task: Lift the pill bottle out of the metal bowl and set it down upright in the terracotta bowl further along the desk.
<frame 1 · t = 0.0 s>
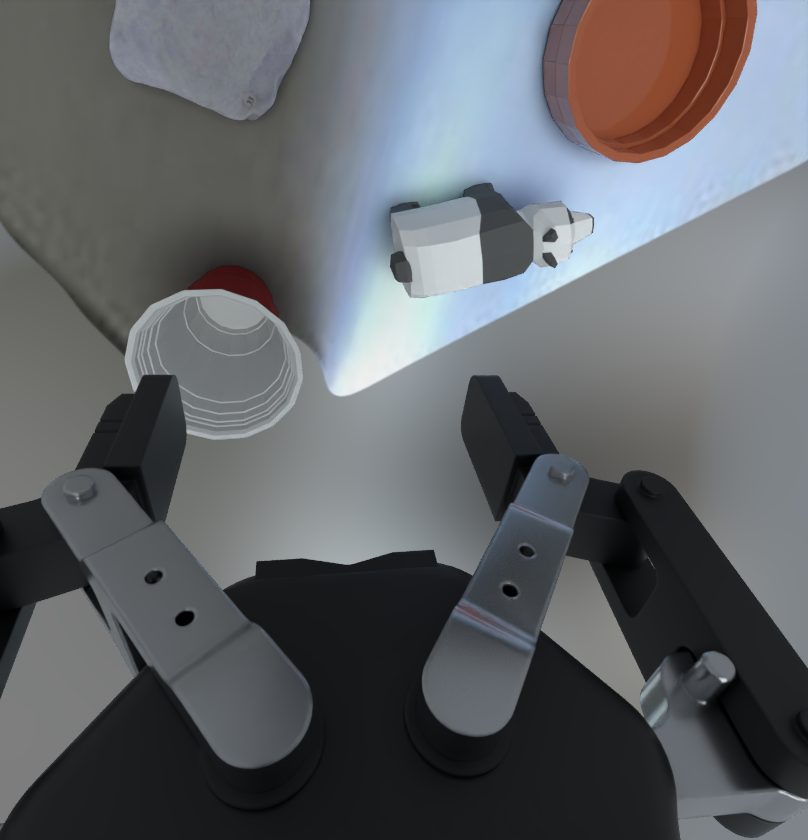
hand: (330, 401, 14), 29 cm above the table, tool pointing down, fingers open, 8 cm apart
terracotta bowl: (625, 53, 36), on the table
stone block: (223, 0, 31), on the table
plastic cup: (235, 295, 42), on the table
giant panda: (459, 220, 41), on the table
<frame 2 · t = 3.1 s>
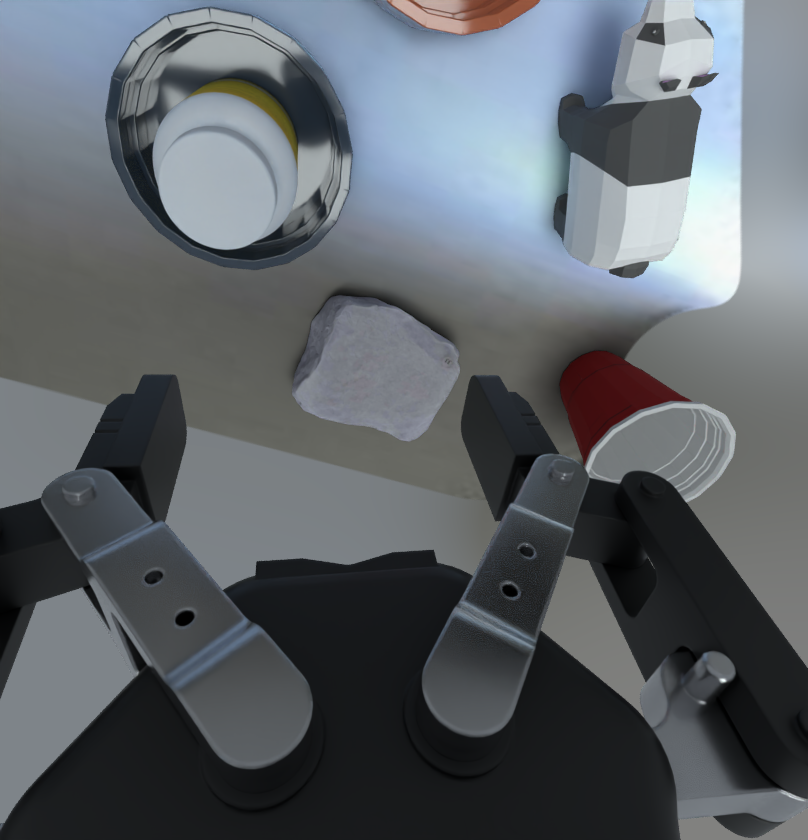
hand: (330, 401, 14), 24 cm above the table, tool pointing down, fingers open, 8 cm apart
pill bottle: (243, 141, 30), resting on metal bowl
stone block: (378, 354, 41), on the table
metal bowl: (243, 141, 31), on the table
plastic cup: (586, 376, 46), on the table
giant panda: (591, 140, 34), on the table
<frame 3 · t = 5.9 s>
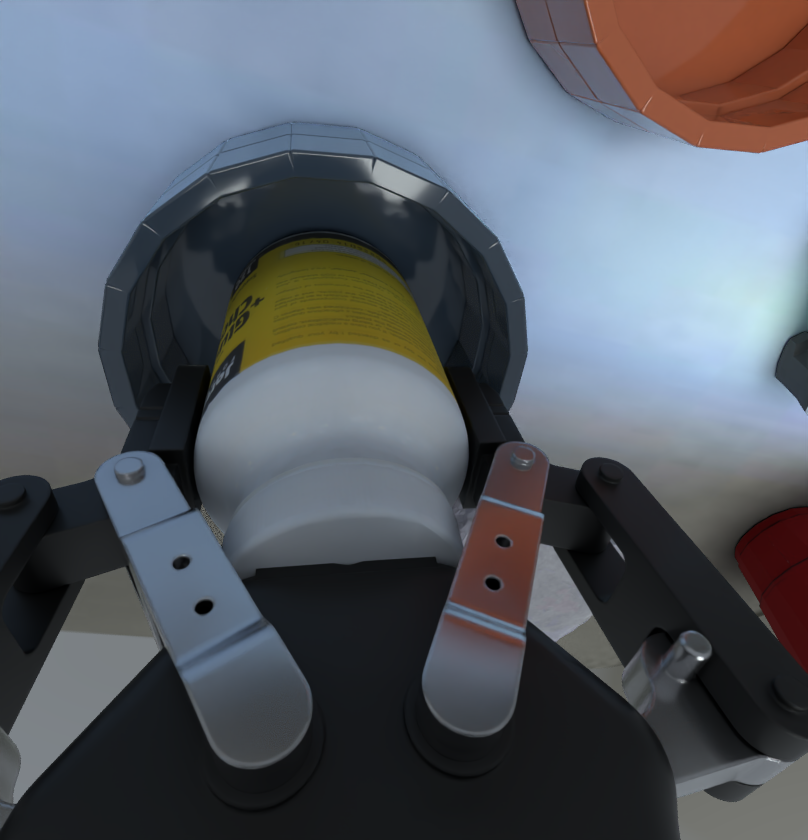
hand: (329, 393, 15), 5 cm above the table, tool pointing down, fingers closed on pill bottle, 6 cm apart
pill bottle: (323, 314, 19), resting on metal bowl, touching gripper
stone block: (498, 542, 29), on the table
metal bowl: (323, 312, 19), on the table
plastic cup: (771, 534, 33), on the table
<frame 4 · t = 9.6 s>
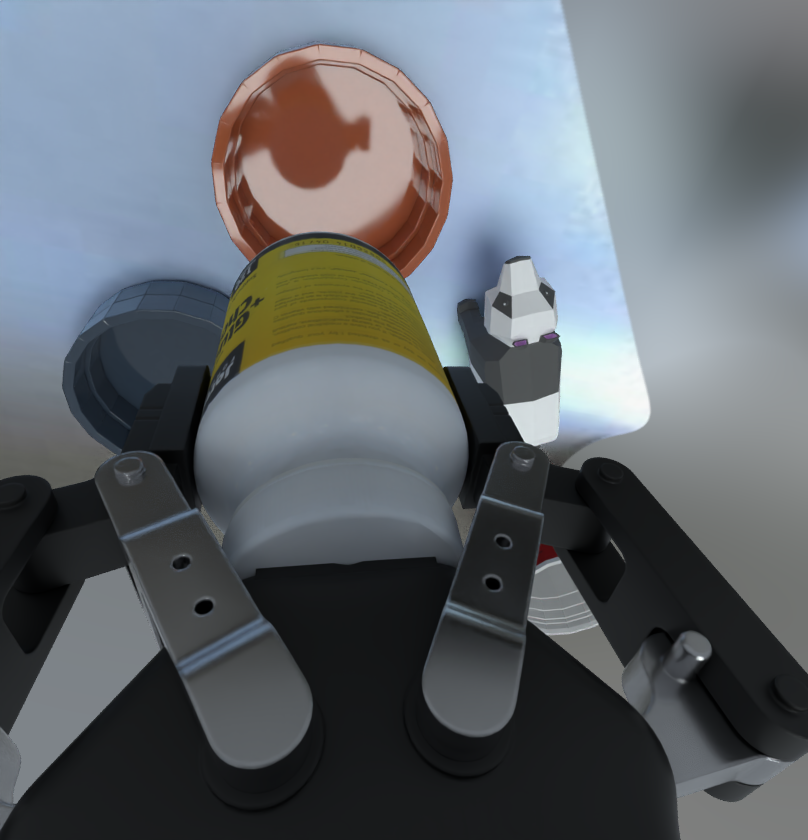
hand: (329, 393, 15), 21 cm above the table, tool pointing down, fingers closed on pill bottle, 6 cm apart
terracotta bowl: (332, 171, 30), on the table
pill bottle: (323, 314, 19), point 16 cm above the table, touching gripper
metal bowl: (185, 362, 36), on the table
plastic cup: (521, 493, 51), on the table
giant panda: (491, 327, 38), on the table
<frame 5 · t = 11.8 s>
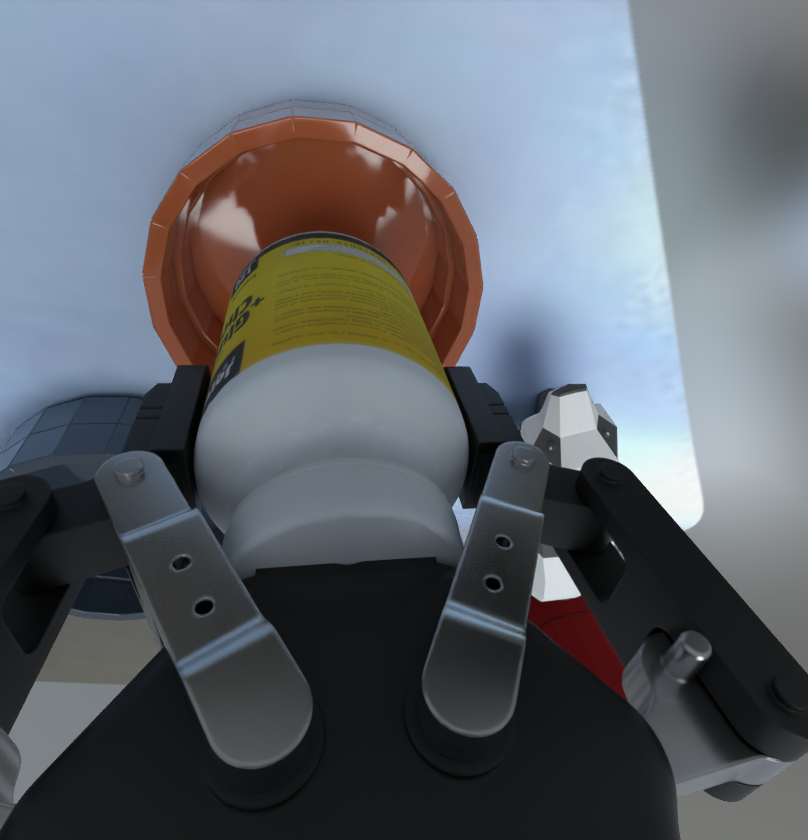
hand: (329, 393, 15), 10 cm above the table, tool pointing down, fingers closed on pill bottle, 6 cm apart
terracotta bowl: (319, 262, 23), on the table
pill bottle: (323, 314, 19), point 5 cm above the table, touching gripper
metal bowl: (136, 484, 28), on the table
plastic cup: (547, 597, 43), on the table
giant panda: (519, 431, 31), on the table
when the fingers open (5 cm above the table, at t = 13.6 s): pill bottle stays where it is, resting on terracotta bowl.
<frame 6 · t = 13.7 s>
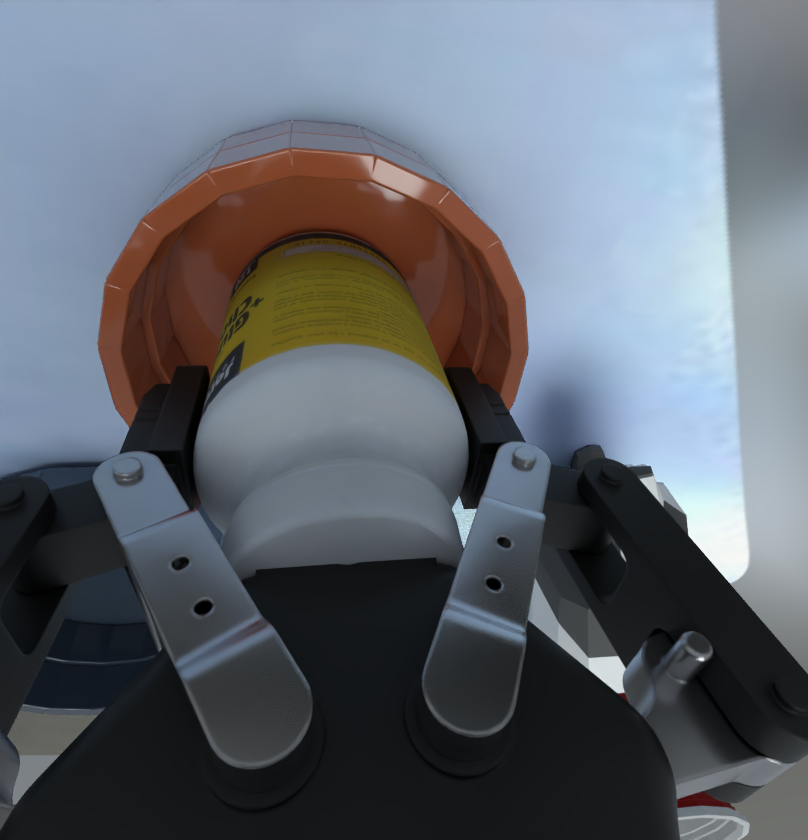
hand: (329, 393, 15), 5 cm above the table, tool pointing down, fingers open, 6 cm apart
terracotta bowl: (323, 311, 19), on the table
pill bottle: (323, 314, 19), resting on terracotta bowl
metal bowl: (110, 556, 25), on the table
plastic cup: (571, 654, 39), on the table
giant panda: (551, 489, 27), on the table
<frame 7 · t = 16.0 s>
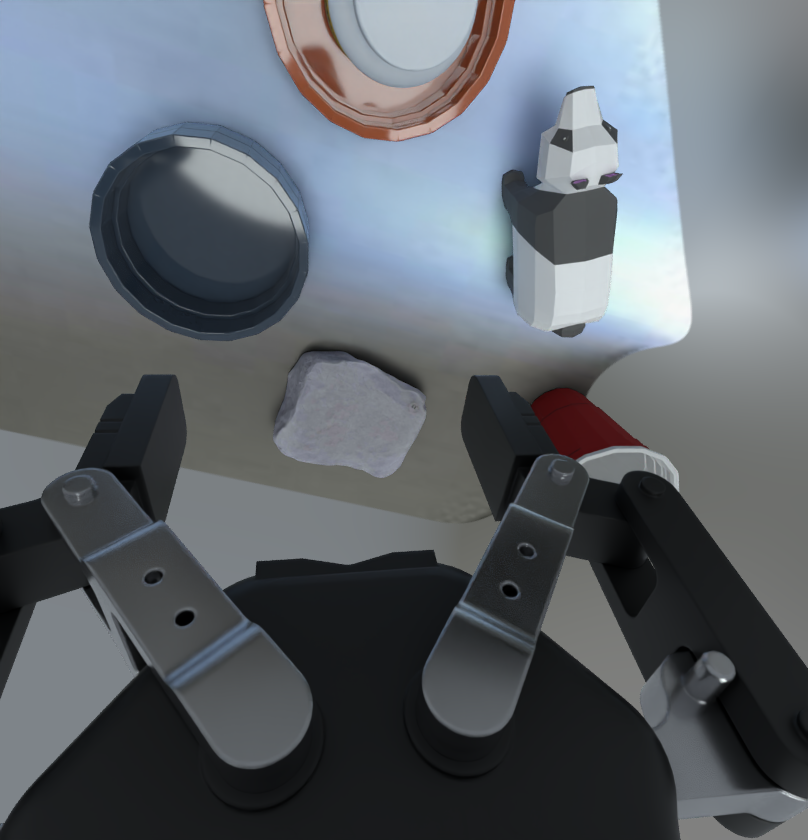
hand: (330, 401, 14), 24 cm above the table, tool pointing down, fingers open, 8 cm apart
terracotta bowl: (382, 1, 28), on the table
pill bottle: (382, 2, 28), resting on terracotta bowl
stone block: (352, 399, 45), on the table
metal bowl: (215, 226, 34), on the table
plastic cup: (552, 410, 49), on the table
giant panda: (535, 207, 37), on the table
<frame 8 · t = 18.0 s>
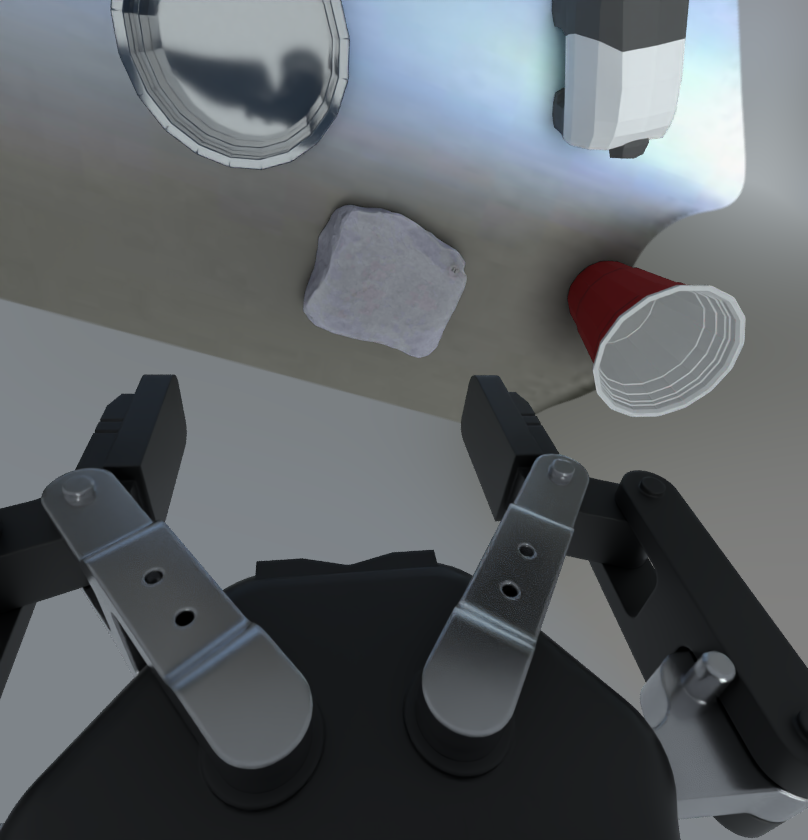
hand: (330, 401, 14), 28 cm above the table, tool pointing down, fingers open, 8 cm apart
stone block: (386, 271, 42), on the table
metal bowl: (243, 43, 31), on the table
plastic cup: (594, 290, 46), on the table
giant panda: (586, 28, 34), on the table
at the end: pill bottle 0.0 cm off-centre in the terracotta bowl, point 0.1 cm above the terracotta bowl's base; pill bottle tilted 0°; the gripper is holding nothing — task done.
